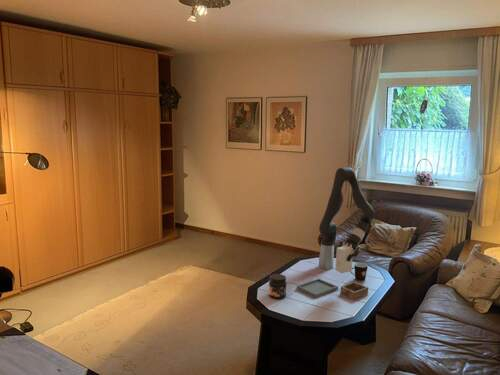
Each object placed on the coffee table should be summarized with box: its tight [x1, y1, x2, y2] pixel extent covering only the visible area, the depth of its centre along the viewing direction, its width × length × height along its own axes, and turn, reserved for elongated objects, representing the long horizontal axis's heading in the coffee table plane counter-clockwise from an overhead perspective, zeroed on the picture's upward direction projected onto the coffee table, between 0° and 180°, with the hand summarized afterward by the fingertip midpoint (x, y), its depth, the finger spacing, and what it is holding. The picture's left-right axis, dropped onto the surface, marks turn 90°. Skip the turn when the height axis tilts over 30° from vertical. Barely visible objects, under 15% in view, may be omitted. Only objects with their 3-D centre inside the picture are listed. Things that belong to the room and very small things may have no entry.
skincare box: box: [335, 246, 354, 274], centre depth 244 cm, size 8×6×15 cm
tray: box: [296, 278, 339, 299], centre depth 251 cm, size 16×20×2 cm
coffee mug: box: [350, 262, 369, 282], centre depth 268 cm, size 12×9×10 cm
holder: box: [340, 281, 369, 300], centre depth 245 cm, size 11×13×4 cm
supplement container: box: [268, 273, 288, 300], centre depth 240 cm, size 10×10×12 cm
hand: (342, 259), depth 243 cm, fingers closed on skincare box, 6 cm apart
